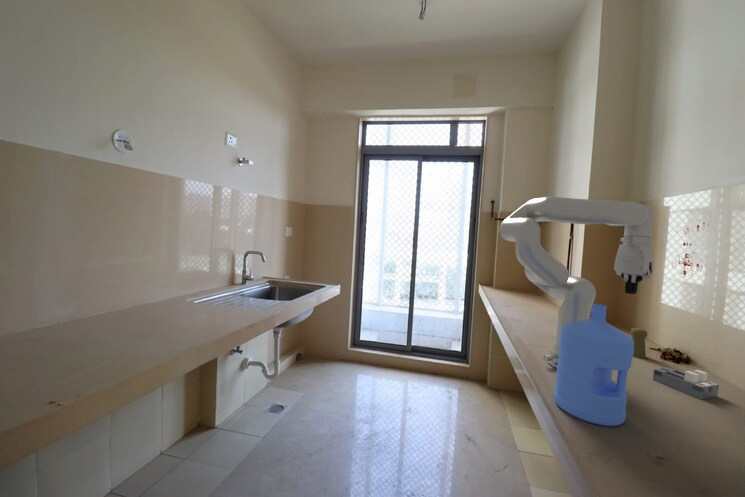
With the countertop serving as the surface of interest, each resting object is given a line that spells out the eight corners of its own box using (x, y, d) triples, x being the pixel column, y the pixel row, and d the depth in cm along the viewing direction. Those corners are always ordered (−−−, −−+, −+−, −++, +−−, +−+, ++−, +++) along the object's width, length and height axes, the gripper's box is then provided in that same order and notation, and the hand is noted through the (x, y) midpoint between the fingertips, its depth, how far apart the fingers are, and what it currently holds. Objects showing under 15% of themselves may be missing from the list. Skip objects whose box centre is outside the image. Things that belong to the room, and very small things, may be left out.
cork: (649, 359, 126) (652, 331, 125) (632, 357, 127) (635, 329, 126) (640, 353, 132) (643, 327, 131) (623, 351, 133) (626, 325, 132)
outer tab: (702, 386, 99) (703, 373, 98) (692, 382, 101) (694, 370, 101) (706, 385, 99) (707, 373, 99) (696, 382, 102) (697, 369, 101)
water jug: (543, 403, 86) (554, 300, 84) (567, 389, 95) (578, 296, 94) (612, 436, 73) (627, 316, 72) (633, 415, 83) (646, 309, 81)
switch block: (701, 399, 95) (703, 386, 95) (652, 379, 107) (654, 368, 106) (717, 396, 97) (718, 384, 97) (668, 377, 109) (669, 366, 109)
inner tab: (693, 387, 97) (695, 375, 97) (683, 384, 99) (685, 371, 99) (697, 387, 98) (699, 374, 98) (687, 383, 100) (689, 370, 100)
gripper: (607, 239, 118) (601, 289, 119) (654, 242, 104) (647, 298, 105) (621, 241, 120) (615, 289, 122) (669, 243, 106) (662, 298, 107)
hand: (630, 293), depth 113 cm, fingers closed
